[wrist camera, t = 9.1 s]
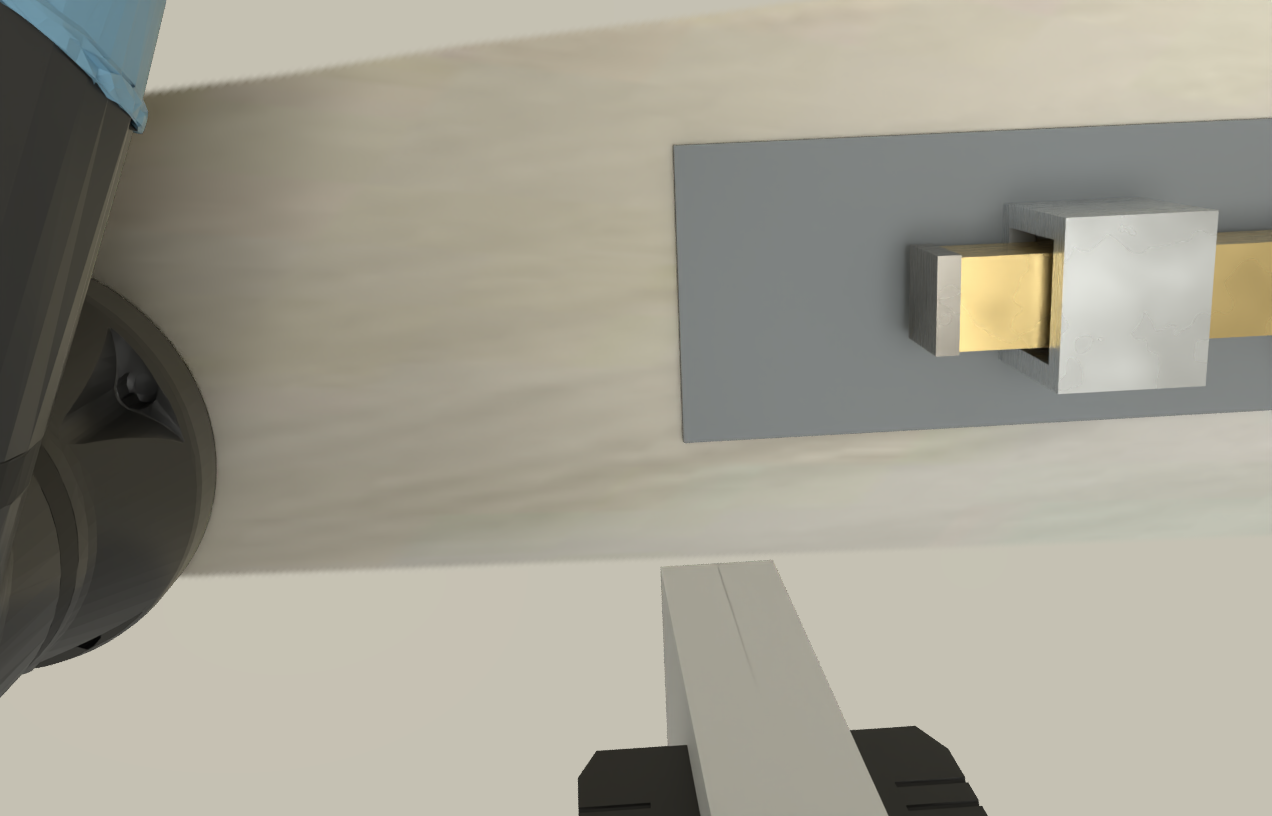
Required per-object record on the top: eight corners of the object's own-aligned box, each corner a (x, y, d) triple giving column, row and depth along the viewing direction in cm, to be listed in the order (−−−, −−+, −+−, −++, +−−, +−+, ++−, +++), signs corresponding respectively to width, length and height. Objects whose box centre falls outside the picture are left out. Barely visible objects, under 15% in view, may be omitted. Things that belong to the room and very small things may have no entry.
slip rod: (908, 337, 44) (936, 356, 41) (909, 244, 43) (937, 256, 40) (1334, 315, 45) (1395, 332, 42) (1343, 223, 44) (1406, 232, 41)
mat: (683, 440, 46) (683, 443, 46) (673, 145, 43) (673, 145, 43) (1422, 399, 47) (1427, 401, 47) (1457, 109, 45) (1463, 109, 44)
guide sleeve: (996, 357, 46) (1058, 394, 40) (1000, 202, 45) (1065, 218, 39) (1125, 350, 46) (1205, 386, 40) (1134, 196, 45) (1218, 210, 39)
